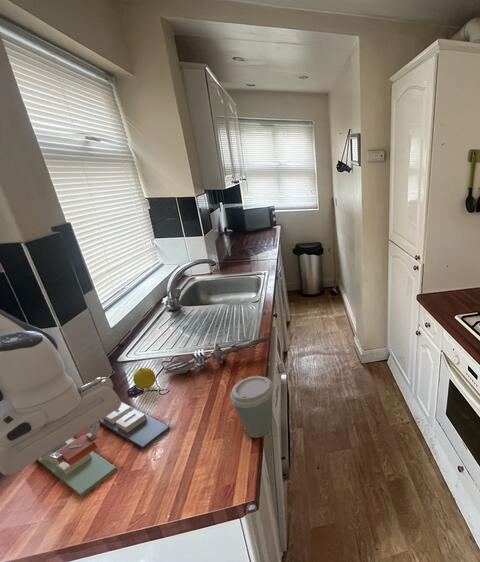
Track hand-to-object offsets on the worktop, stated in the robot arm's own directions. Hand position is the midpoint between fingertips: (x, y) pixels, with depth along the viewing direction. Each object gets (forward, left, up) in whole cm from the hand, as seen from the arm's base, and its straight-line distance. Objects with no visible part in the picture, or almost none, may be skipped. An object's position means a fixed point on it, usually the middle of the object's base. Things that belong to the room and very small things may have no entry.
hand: (77, 450), depth 69 cm
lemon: (-19, +24, -9) cm, 32 cm away
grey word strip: (-7, +13, -9) cm, 17 cm away
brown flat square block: (0, 0, -1) cm, 1 cm away
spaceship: (-8, +43, -9) cm, 45 cm away
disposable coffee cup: (+27, +27, -9) cm, 39 cm away
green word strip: (-7, 0, -9) cm, 11 cm away
